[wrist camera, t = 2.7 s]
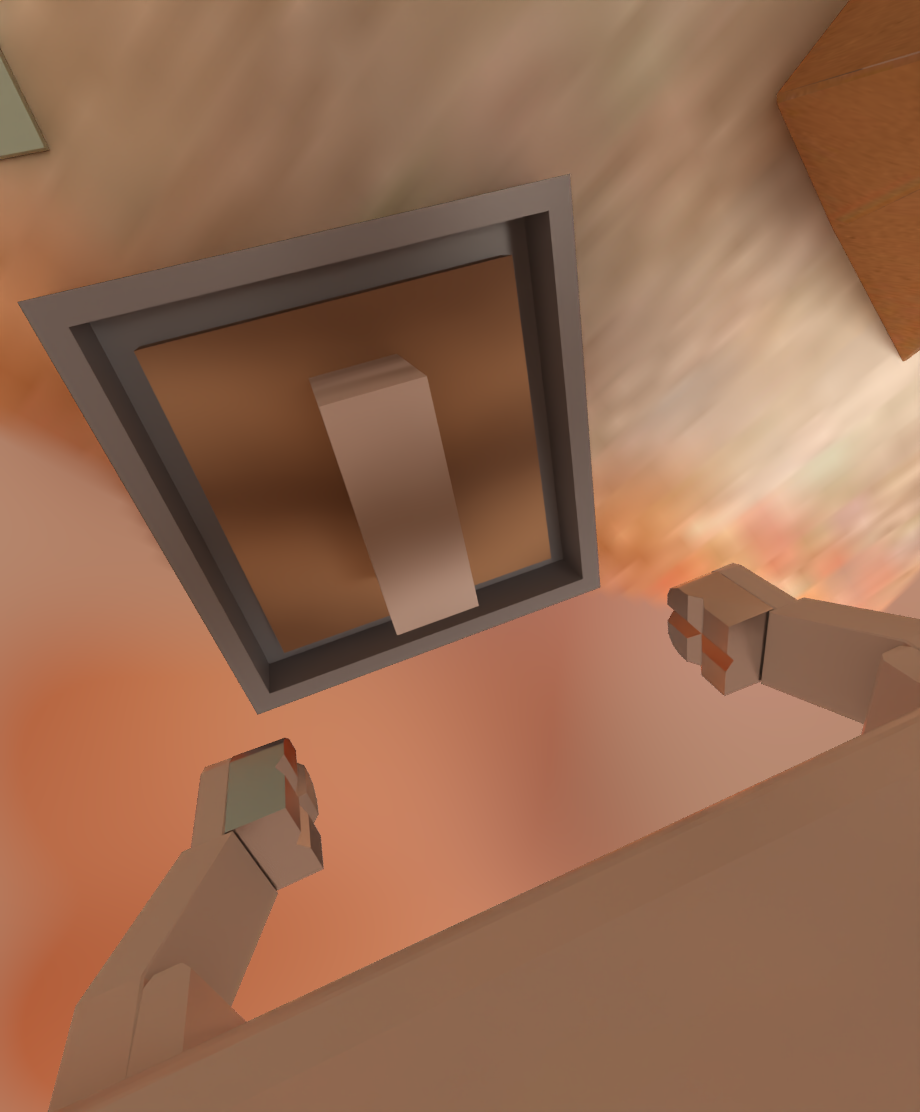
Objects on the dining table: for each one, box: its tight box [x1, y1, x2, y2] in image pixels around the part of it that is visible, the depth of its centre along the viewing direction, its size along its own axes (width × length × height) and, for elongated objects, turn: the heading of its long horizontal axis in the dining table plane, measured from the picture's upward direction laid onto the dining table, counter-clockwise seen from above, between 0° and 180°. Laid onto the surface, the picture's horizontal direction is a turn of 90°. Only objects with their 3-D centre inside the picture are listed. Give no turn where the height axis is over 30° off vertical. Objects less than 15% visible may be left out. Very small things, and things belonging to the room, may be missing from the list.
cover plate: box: [134, 255, 551, 653], centre depth 19 cm, size 12×12×5 cm
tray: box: [18, 174, 600, 714], centre depth 20 cm, size 16×16×2 cm
